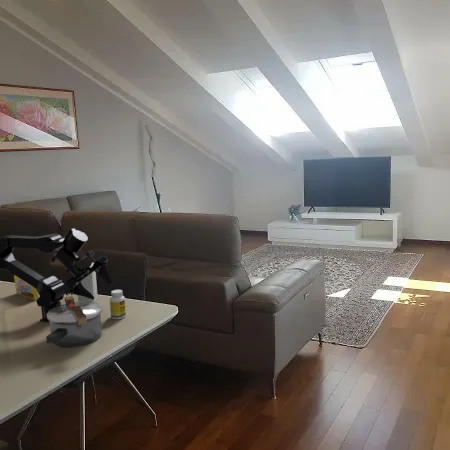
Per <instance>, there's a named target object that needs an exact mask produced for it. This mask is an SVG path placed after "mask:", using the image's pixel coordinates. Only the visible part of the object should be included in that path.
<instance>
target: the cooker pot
mask: <svg viewBox="0 0 450 450" xmlns="http://www.w3.org/2000/svg"><path fill="white" fill-rule="evenodd" d="M101 316H102V315H101V313H100V314H99V315H98V316H96V317H94V318H92V319H89V320H87V323H86V324H81V325H78V323H69V324H59V323H53V322H49V327H50V328H49V329H50V333H49V334H47V335H46V336H45V337H46V338H45V339H46V343H47V344H52V345H53V346H55V347H58V348H64V349H65V348H66V349H69V348H70V349H71V348H80V347H85V346H89V345H90V344H93V343H96V342H97V341H98V340H99V339H101V337H102V336H103V330H102V329H103V328H102V318H101Z"/></svg>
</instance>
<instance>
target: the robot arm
mask: <svg viewBox="0 0 450 450" xmlns="http://www.w3.org/2000/svg"><path fill="white" fill-rule="evenodd" d="M88 239H89V238H88V235H87V234H86V233H85V232H83V231H81V230H78V229H76V228H75V227H73V228H69V231H68V232H67V235H66V236H61V234H60V233H51V234H45V235H42V236H40V235H39V236H34V235H33V236H31V235H30V236H29V235H14V234H10V235H6V236H3V237H1V238H0V270H4V271H7V272H9V273H11V274H12V275H14V276H17V277H18V278H20V279H21V280H23V281H25V282H26V283H28V284H29V285H31V286H33V287H34V288H36V289H37V291H38V296H39V298H38V299H37V300H36V301H35V302H36V304H37V306H38V307H40V310H41V318H40V319H39V321H40V322H46V323H50V321H49V320H48V319H47V313H48V312H49V311H50V310H51V309H53V308H55V307H57V306H60V305H62V301H61V300H64V298H65V297H64V295H66V297H69V295H71V296H73V295H76V296H78V295H80V296H83V297H87V298H90V299H94V296H93V295H92V294H91V293H90V292H89V291H87V290H86V289H85V288H84V287H83V285H82V283H81V281H82V280H83V279H85V278H86V277H87V276H89V275H90V274H91V273H93V272H94V271H95V272H96V273H97V274H96V276H98V277H100V278H101V279H102V280H104V281H105V282H106V283H107V284H109V285H113V281H112V279H111V277H110V275H109V273H108V270H107V265H108V261H109V259H108V258H107V257H106V256H104V255H101V256H99V257H98V258H97V254H96V252H94V250H92V249H90V250H88V251H87V252H86V253H85V256H82V255H78V254H76V253H79V252H80V251H81V249H82V248H83V247H84V246H85V244H86V243H87V241H88ZM15 248H24V249H36V250H38V251H39V252H43V253H47V254H49V253H52V252H54V251H56V252H55V253H53V254H51V263H55V262H59V263H61V265H62V266H64V267H65V268H66V272H67V273H70V274H72V275H73V277H71V278H69V279H68V280H67V281H65V282H63V280H62V279H61V280H60V279H58V278H57V277H56V276H55V275H51V276H49V277H44V276H43V275H41V274H40V273H38V272H36V271H35V270H33V269H32V268H30V267H28V266H27V265H25V264H24V263H21V262H20V261H18V260H17V259H16V258H15V256H14V254H13V252H14V249H15ZM96 258H97V259H96ZM92 263H94V264H93V266H92V267H91V268H90V266H91V265H92ZM88 272H89V273H88Z"/></svg>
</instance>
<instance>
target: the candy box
mask: <svg viewBox="0 0 450 450" xmlns="http://www.w3.org/2000/svg"><path fill="white" fill-rule="evenodd" d="M13 279H14V284H15V292H16V294H17V295H19V296H22V297H25V298H28V299H29V300H32V301H35V302H36V300H37V299H38V298H39V297H40V295H39V294H38V291H37V289H36V288H34V287H33V286H31V285H29V284H28V283H26V282H25V281H23V280H21V279H20V278H18V277H17V276H15V275H14V276H13Z"/></svg>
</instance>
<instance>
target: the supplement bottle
mask: <svg viewBox="0 0 450 450" xmlns="http://www.w3.org/2000/svg"><path fill="white" fill-rule="evenodd" d="M123 294H124V293H123V290H122V289H114V290H111V294H110V295H111V297H110V298H109V306H110V307H109V308H110V317H111V319H113V320H121V319H124V318H125V317H126V314H127V311H126V310H127V309H126V299H125V298H126V297H125V296H124V295H123Z"/></svg>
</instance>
